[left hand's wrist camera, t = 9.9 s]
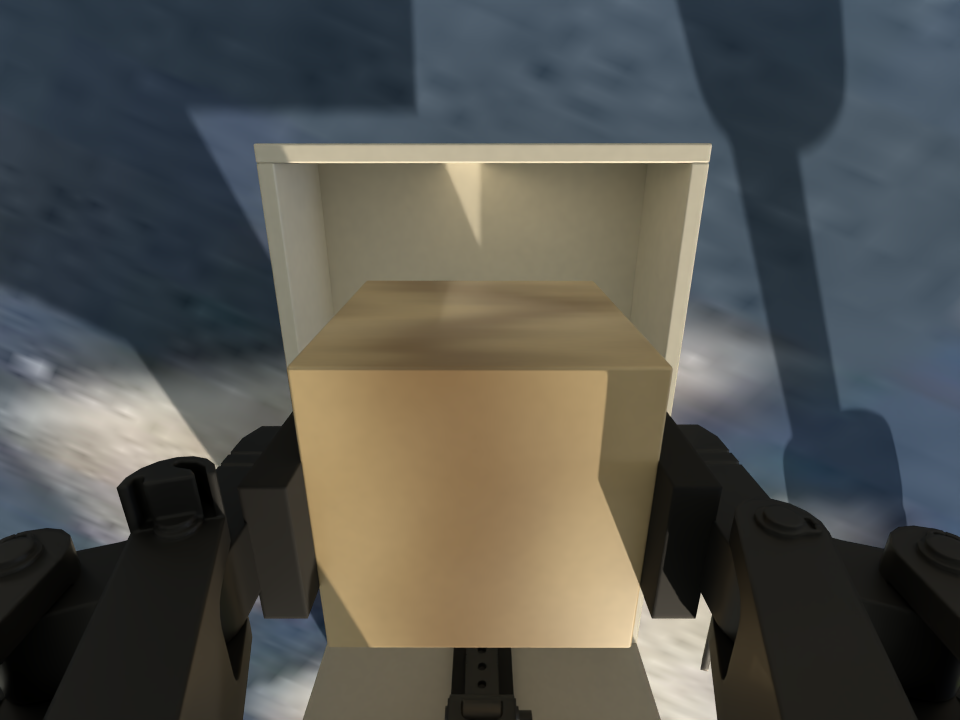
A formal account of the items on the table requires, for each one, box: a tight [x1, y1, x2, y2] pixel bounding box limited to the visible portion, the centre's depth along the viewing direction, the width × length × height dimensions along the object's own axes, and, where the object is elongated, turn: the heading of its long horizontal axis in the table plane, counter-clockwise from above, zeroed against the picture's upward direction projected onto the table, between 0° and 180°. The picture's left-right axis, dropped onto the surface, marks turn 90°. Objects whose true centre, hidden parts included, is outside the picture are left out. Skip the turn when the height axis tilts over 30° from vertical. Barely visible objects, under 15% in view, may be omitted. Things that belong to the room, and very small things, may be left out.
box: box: [254, 143, 712, 720], centre depth 21 cm, size 25×15×12 cm, turn 0°
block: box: [287, 281, 673, 648], centre depth 12 cm, size 6×6×6 cm
